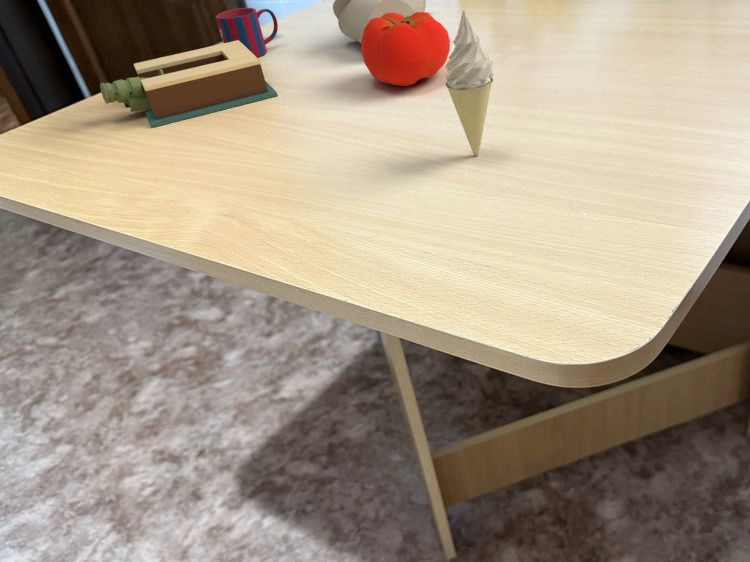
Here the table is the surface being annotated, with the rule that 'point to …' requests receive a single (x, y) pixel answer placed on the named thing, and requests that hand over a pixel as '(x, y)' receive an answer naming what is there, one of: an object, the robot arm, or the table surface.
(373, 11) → the bent grey cylinder
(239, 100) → the tissue dispenser
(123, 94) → the knife
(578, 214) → the table surface
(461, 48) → the ice cream cone
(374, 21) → the tomato
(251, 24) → the mug
